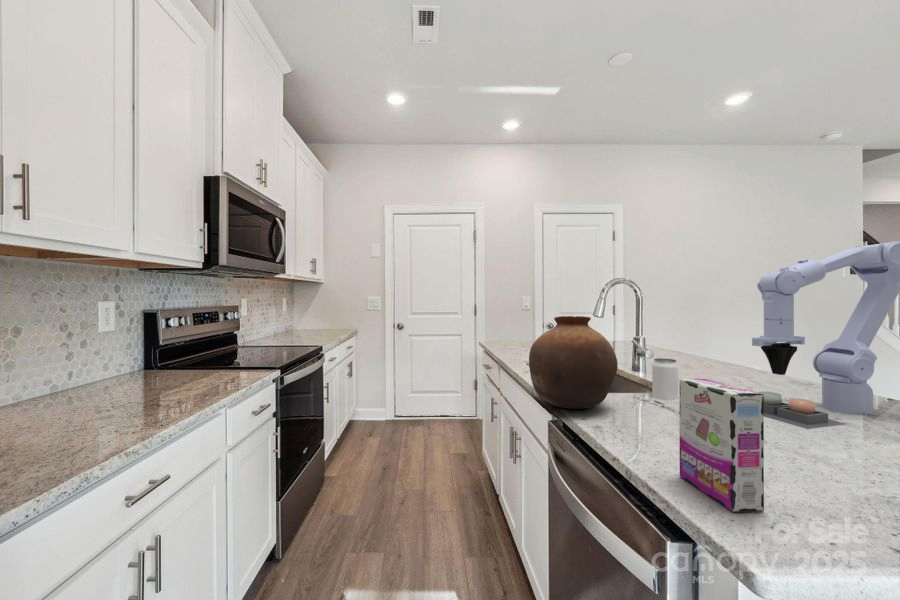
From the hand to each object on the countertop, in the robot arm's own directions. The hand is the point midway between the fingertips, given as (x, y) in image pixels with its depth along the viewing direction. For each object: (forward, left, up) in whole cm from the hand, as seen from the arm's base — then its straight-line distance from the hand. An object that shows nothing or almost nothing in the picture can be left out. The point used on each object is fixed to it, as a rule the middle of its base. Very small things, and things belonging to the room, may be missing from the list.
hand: (778, 374), depth 95 cm
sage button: (+3, 0, -7) cm, 8 cm away
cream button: (+3, -7, -7) cm, 10 cm away
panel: (+3, 0, -10) cm, 11 cm away
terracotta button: (+3, +7, -7) cm, 10 cm away
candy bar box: (+49, +26, -11) cm, 56 cm away
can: (+17, -18, -11) cm, 27 cm away
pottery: (+45, -21, -11) cm, 51 cm away
